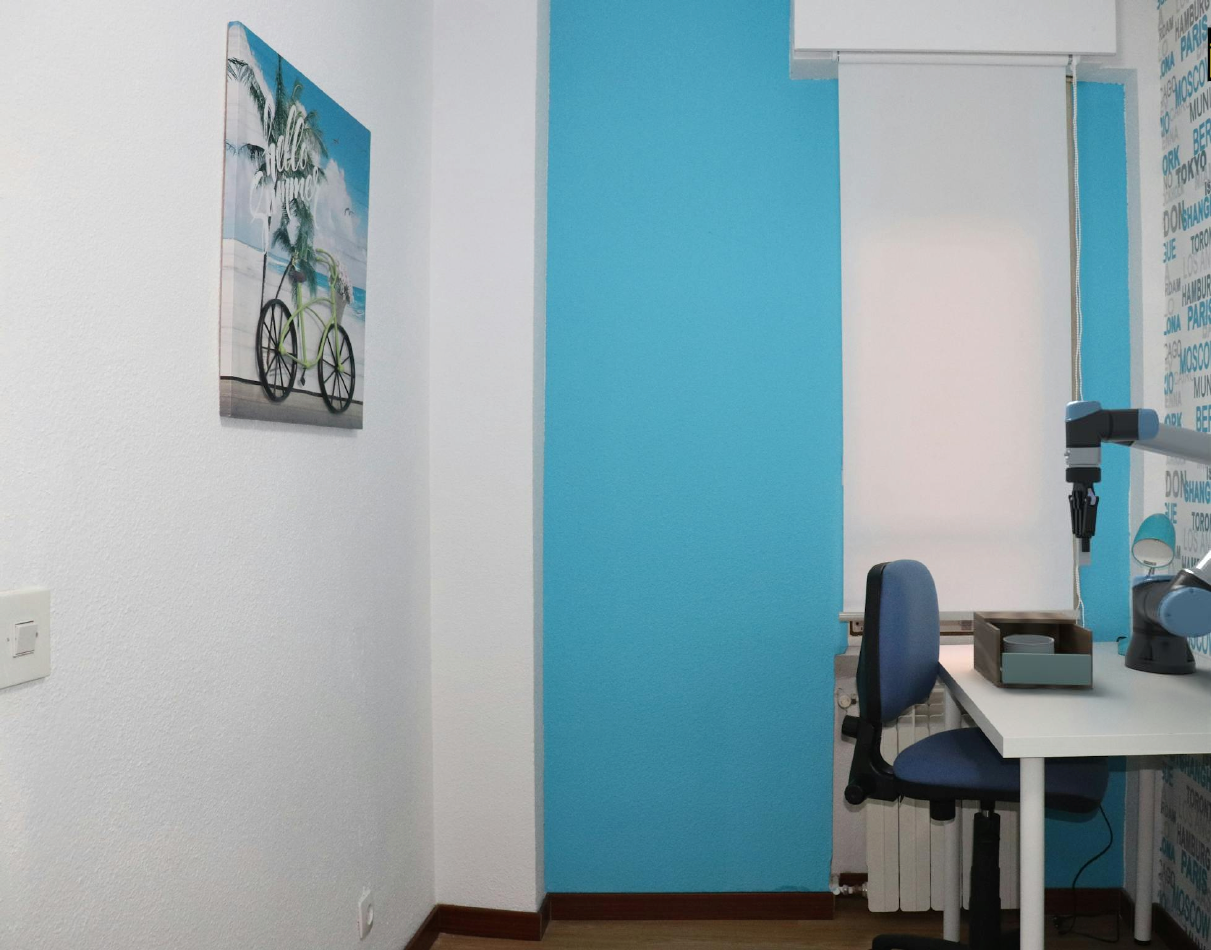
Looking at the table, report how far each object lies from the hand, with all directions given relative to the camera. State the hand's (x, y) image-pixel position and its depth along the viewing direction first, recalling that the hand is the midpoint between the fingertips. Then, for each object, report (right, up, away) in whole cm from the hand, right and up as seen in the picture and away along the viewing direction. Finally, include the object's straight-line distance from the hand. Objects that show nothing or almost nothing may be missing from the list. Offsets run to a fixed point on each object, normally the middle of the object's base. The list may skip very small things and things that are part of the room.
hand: (1083, 565), depth 220 cm
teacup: (-15, -25, -3) cm, 29 cm away
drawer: (-13, -25, -3) cm, 29 cm away
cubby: (-13, -27, -1) cm, 30 cm away
